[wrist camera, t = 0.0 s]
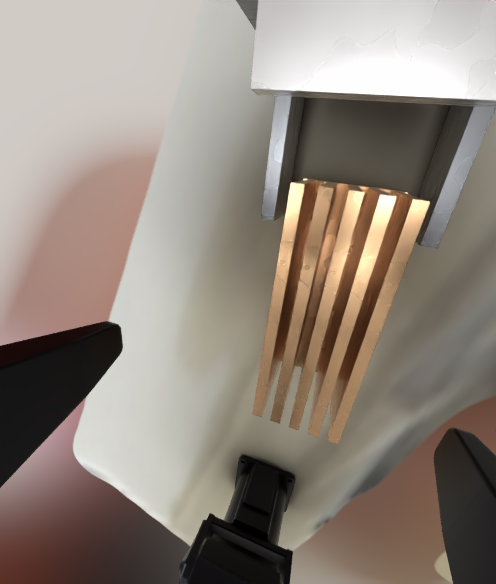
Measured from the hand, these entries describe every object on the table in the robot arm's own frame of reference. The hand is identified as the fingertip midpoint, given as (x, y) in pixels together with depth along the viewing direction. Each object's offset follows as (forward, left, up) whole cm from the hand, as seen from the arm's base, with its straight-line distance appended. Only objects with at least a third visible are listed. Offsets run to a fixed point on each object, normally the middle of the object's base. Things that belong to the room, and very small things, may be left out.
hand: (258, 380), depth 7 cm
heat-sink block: (-2, -2, -15) cm, 15 cm away
